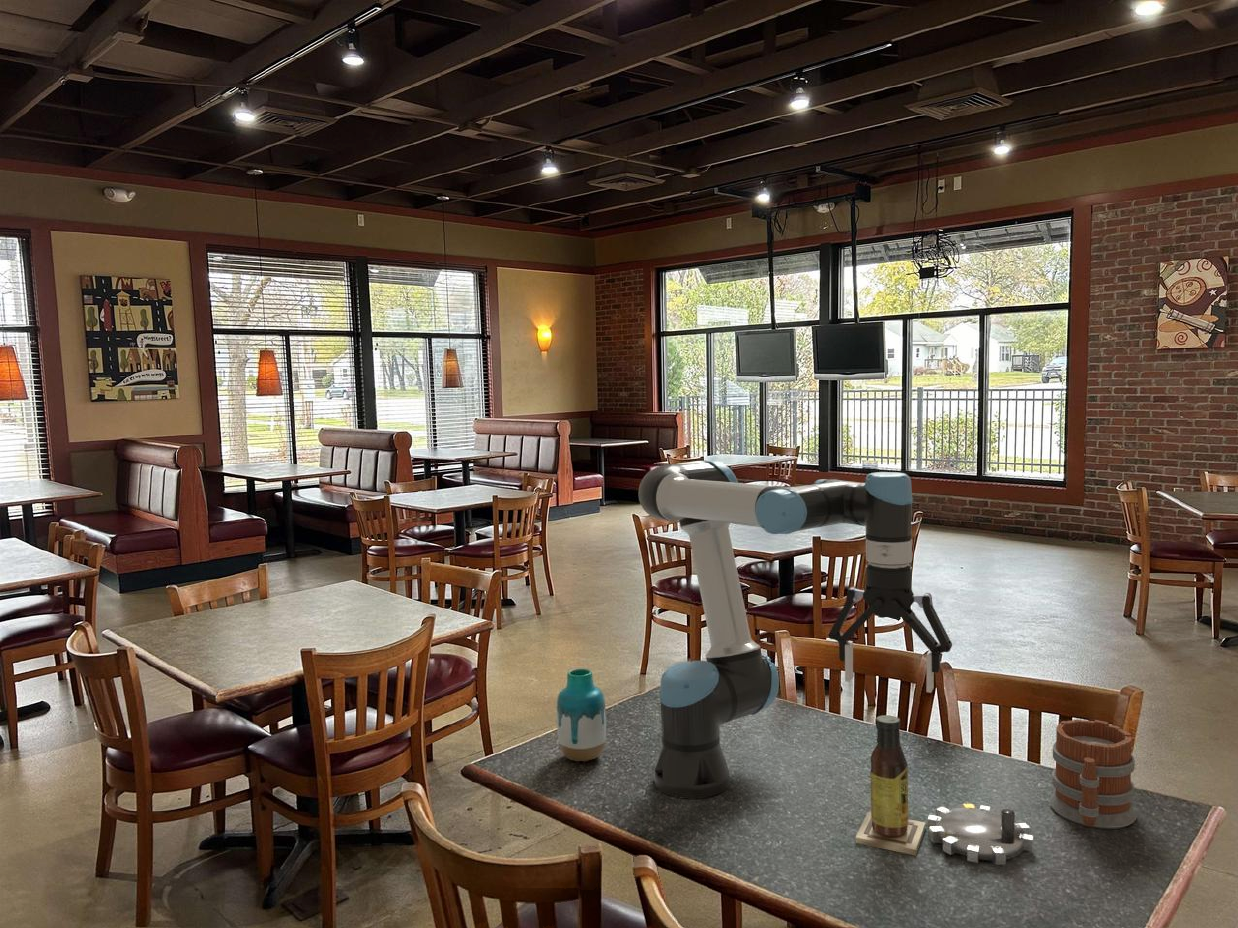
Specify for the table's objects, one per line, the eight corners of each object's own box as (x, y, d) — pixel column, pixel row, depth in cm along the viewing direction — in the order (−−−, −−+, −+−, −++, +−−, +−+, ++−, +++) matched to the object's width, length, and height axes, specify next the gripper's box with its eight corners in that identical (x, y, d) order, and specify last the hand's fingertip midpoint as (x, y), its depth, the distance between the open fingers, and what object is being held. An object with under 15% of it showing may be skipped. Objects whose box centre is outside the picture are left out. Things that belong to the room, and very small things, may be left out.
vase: (616, 753, 192) (613, 668, 190) (589, 772, 183) (585, 683, 181) (577, 744, 197) (573, 661, 196) (548, 762, 189) (544, 675, 187)
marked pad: (855, 842, 152) (855, 836, 152) (868, 816, 161) (868, 810, 160) (915, 855, 147) (915, 849, 147) (925, 827, 156) (925, 821, 156)
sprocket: (986, 873, 140) (986, 831, 139) (907, 831, 154) (907, 793, 153) (1049, 842, 148) (1050, 803, 148) (969, 805, 162) (969, 769, 161)
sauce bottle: (910, 840, 150) (909, 727, 148) (872, 837, 151) (871, 726, 150) (906, 821, 156) (905, 713, 155) (869, 818, 158) (868, 711, 156)
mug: (1137, 802, 162) (1138, 724, 161) (1135, 851, 146) (1137, 764, 145) (1052, 787, 170) (1053, 711, 168) (1042, 832, 153) (1043, 749, 152)
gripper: (810, 562, 152) (811, 681, 154) (964, 573, 140) (963, 702, 142) (821, 554, 159) (822, 668, 161) (969, 564, 147) (968, 687, 149)
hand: (888, 684), depth 152 cm, fingers open, 13 cm apart
